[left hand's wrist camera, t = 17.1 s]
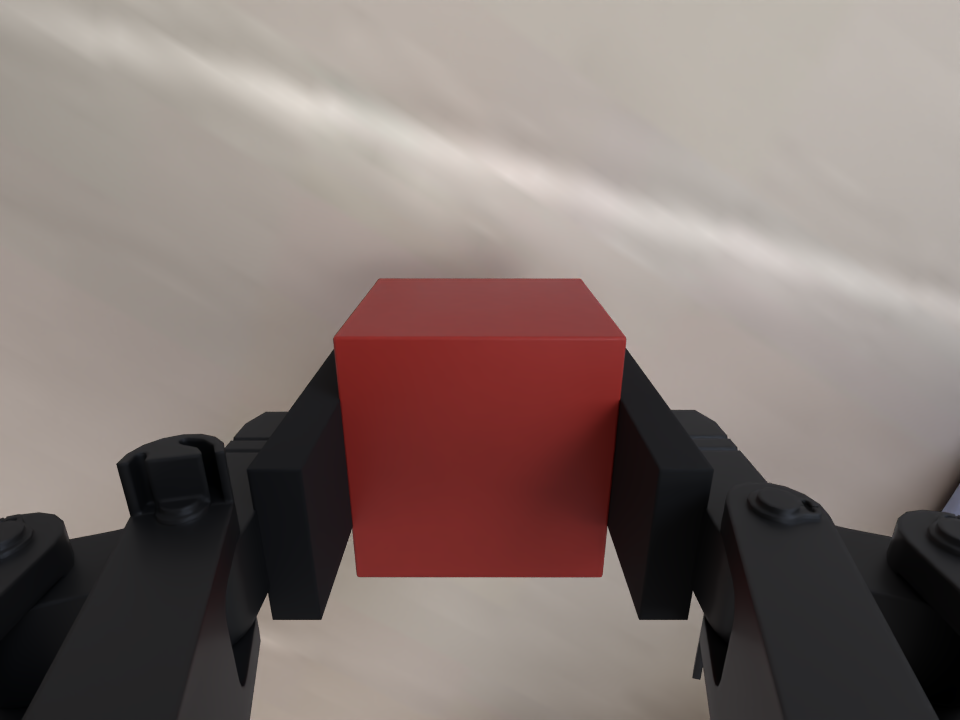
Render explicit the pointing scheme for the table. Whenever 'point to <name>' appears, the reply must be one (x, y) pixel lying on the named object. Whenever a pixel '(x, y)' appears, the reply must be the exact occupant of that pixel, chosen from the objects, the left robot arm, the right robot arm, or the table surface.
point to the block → (479, 427)
